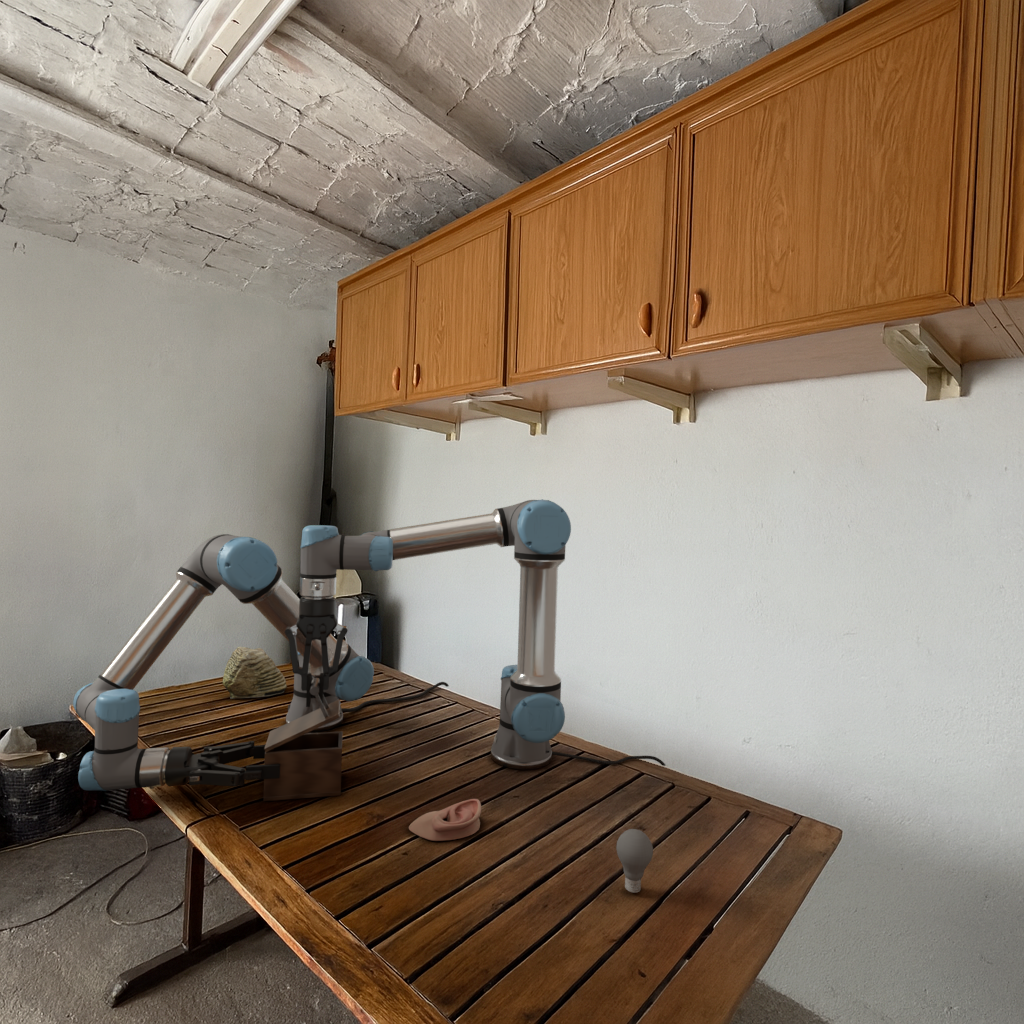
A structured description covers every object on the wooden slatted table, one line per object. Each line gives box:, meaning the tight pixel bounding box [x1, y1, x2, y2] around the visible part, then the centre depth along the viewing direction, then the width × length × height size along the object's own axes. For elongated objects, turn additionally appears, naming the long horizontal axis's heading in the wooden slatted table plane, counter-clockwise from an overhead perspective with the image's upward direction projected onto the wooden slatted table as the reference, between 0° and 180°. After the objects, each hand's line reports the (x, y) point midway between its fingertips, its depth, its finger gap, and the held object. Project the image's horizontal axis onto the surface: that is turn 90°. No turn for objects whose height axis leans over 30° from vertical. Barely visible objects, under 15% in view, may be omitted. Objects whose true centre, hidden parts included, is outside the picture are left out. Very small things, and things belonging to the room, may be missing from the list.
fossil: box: [222, 646, 288, 699], centre depth 198 cm, size 9×18×15 cm, turn 132°
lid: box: [264, 678, 342, 752], centre depth 137 cm, size 16×10×8 cm, turn 104°
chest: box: [262, 730, 344, 802], centre depth 137 cm, size 15×10×10 cm, turn 104°
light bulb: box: [615, 828, 654, 894], centre depth 106 cm, size 6×6×10 cm
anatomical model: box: [408, 798, 482, 842], centre depth 124 cm, size 13×4×12 cm
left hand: (282, 760), depth 136 cm, fingers closed on chest, 10 cm apart
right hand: (314, 704), depth 138 cm, fingers closed on lid, 2 cm apart
